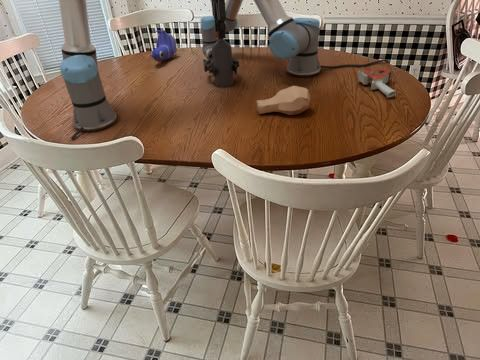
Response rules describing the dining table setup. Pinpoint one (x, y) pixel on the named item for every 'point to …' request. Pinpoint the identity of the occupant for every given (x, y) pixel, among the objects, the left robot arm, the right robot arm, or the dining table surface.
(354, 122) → the dining table surface
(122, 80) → the dining table surface
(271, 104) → the squash
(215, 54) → the bottle
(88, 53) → the left robot arm
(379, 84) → the tape dispenser
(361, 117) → the dining table surface
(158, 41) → the toy
